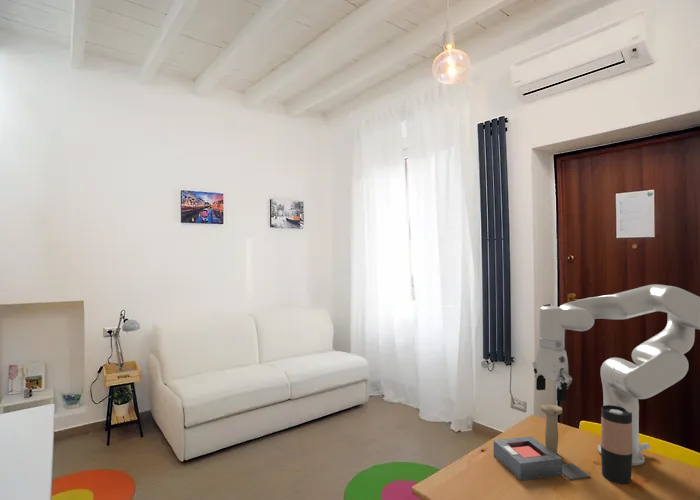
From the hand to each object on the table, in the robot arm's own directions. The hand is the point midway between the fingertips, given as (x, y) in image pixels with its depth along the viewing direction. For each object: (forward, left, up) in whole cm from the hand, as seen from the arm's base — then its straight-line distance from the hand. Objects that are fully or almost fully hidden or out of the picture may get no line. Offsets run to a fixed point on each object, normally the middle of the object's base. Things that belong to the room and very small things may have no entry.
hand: (550, 395), depth 128 cm
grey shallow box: (+13, +5, -19) cm, 24 cm away
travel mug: (-9, +16, -19) cm, 27 cm away
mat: (+2, +11, -19) cm, 22 cm away
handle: (0, 0, -19) cm, 19 cm away
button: (+13, +5, -16) cm, 21 cm away
